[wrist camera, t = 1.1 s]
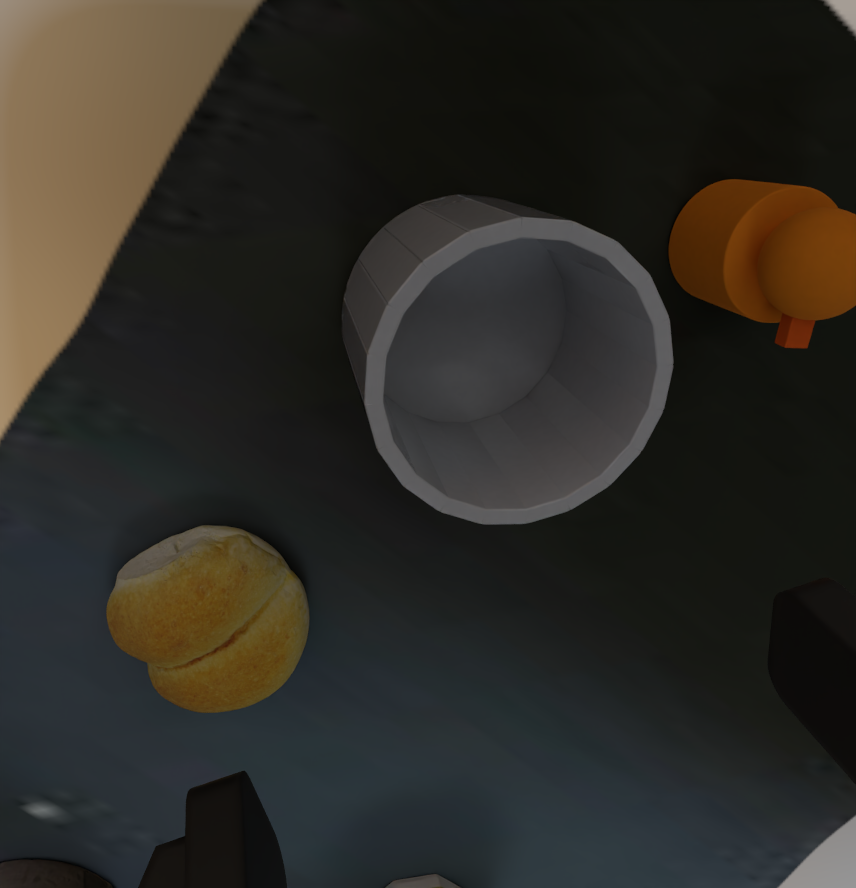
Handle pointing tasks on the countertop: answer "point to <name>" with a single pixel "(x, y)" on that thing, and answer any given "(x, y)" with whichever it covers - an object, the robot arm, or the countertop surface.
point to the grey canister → (47, 875)
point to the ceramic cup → (423, 882)
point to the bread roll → (211, 617)
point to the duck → (767, 254)
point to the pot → (504, 357)
